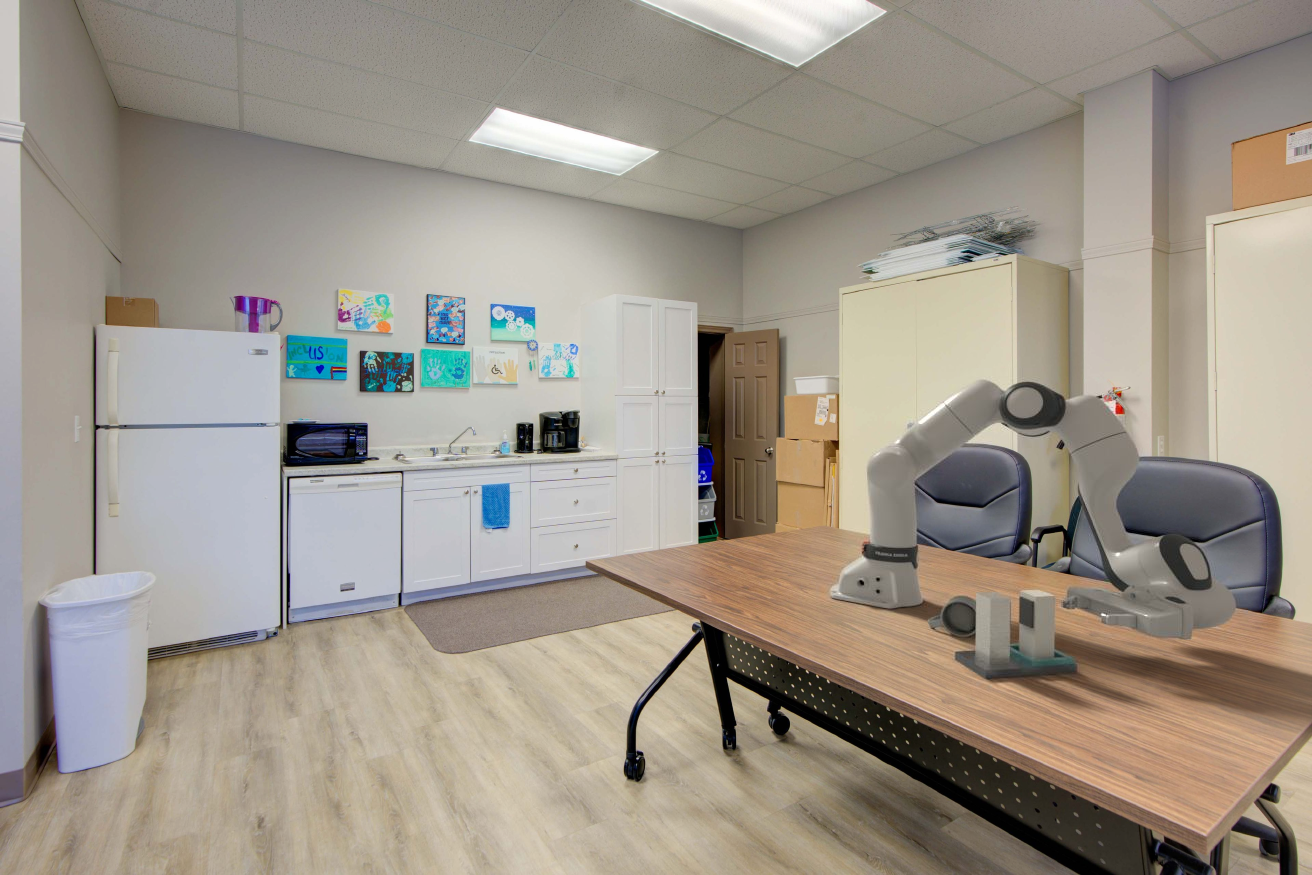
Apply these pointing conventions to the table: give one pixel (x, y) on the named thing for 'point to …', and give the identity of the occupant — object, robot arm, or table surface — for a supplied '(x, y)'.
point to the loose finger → (1036, 624)
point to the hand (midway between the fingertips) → (1083, 611)
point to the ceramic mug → (957, 617)
